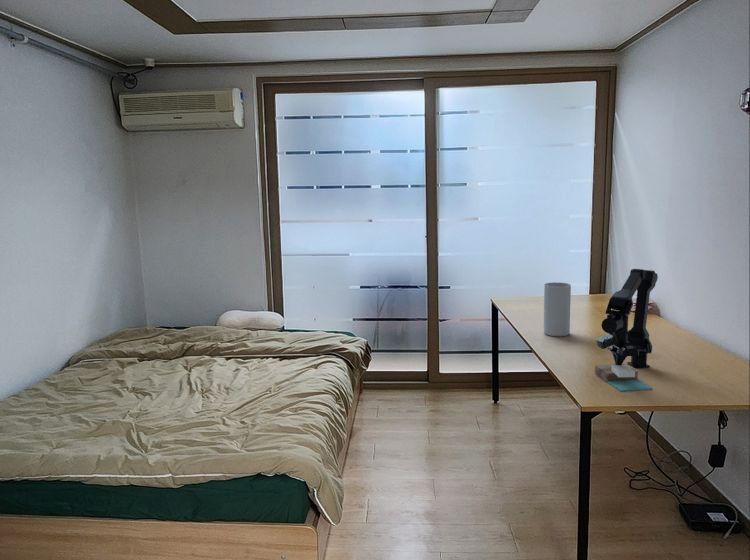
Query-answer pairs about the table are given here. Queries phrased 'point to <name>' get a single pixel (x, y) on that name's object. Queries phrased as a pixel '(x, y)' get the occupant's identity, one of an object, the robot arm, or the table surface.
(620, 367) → the tile
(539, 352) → the table surface
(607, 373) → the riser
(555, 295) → the cylinder vase
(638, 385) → the mat
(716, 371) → the table surface
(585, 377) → the table surface
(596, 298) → the table surface
